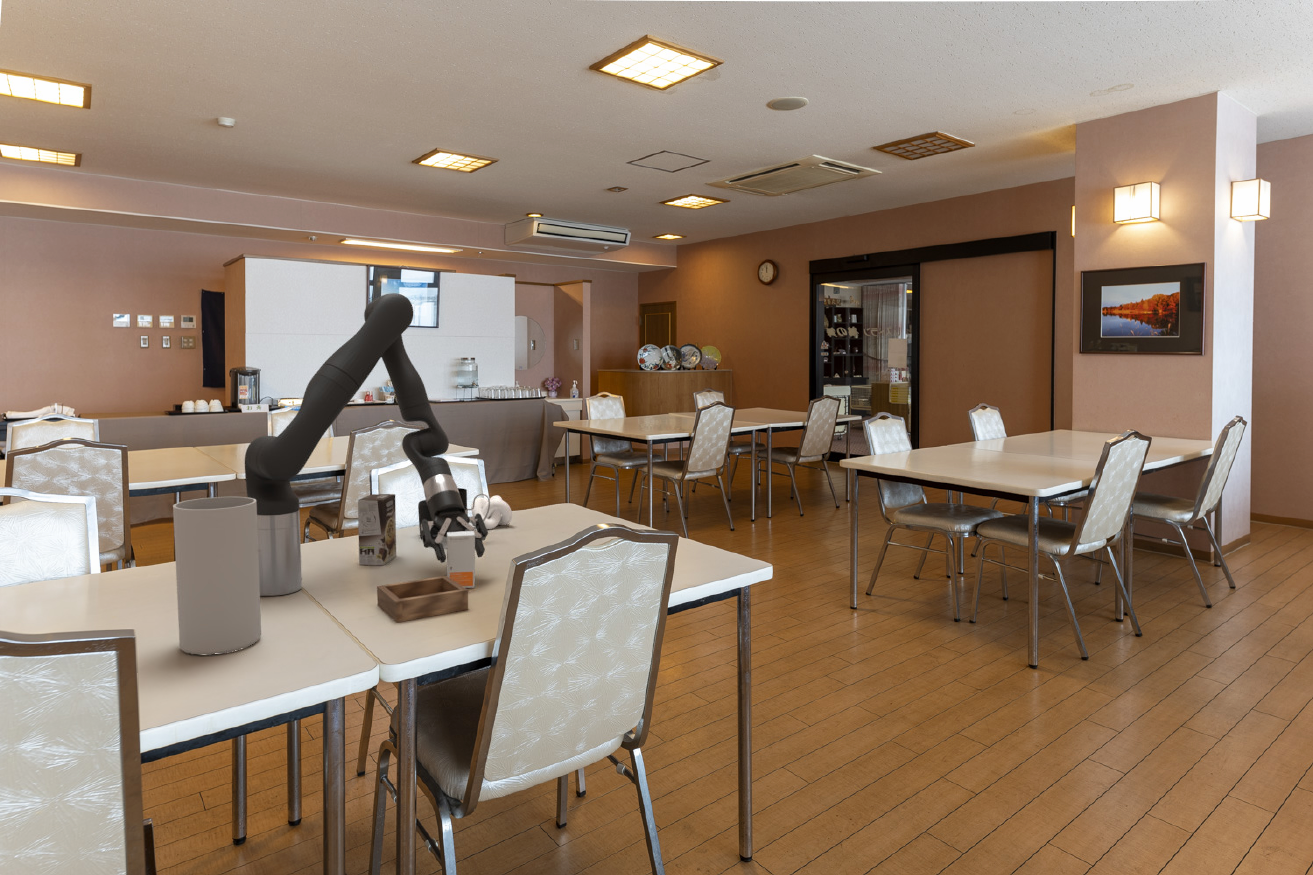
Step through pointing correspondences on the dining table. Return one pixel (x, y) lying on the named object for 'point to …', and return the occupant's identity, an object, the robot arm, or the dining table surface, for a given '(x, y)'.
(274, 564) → the robot arm
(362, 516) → the coffee box
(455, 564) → the skincare box
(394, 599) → the tray
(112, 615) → the dining table surface
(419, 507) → the black smart speaker
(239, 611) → the cylinder vase
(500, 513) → the white knot sculpture
